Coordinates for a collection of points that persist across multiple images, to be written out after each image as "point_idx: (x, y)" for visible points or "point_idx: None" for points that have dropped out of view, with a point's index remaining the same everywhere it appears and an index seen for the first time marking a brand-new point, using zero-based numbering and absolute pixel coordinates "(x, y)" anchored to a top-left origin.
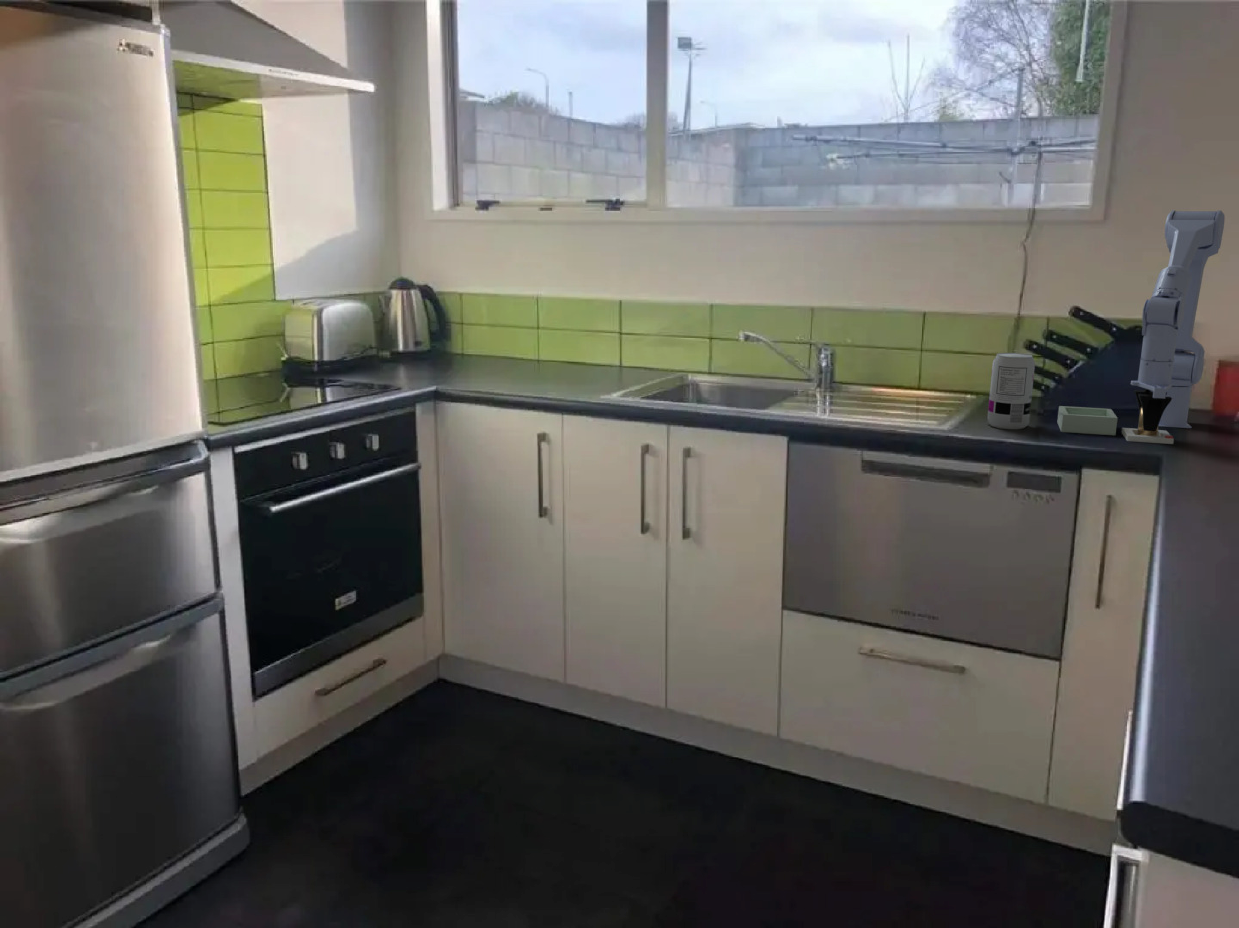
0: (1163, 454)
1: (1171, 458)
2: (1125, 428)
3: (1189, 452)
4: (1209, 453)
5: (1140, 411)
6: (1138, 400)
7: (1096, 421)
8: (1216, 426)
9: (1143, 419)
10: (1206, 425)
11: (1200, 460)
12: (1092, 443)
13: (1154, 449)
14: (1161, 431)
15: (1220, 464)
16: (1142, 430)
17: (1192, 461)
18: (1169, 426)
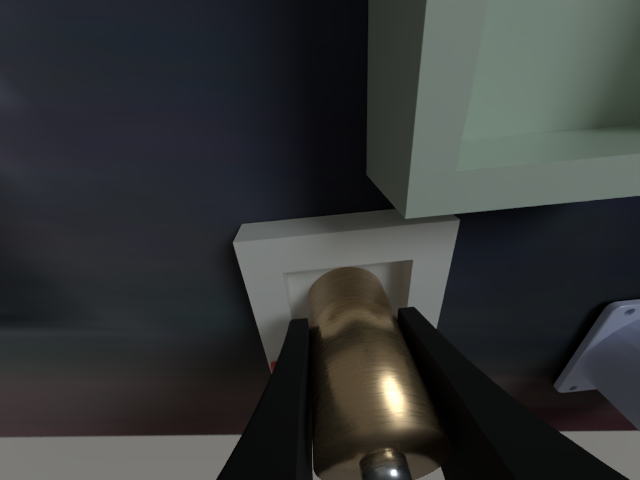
0: (107, 331)
1: (55, 349)
2: (442, 234)
3: (206, 382)
4: (227, 411)
5: (369, 393)
6: (514, 477)
7: (405, 21)
8: (598, 417)
9: (275, 369)
10: None
11: (103, 399)
12: (106, 22)
13: (182, 310)
14: None
15: (91, 426)
16: (317, 309)
17: (66, 387)
18: (581, 353)
